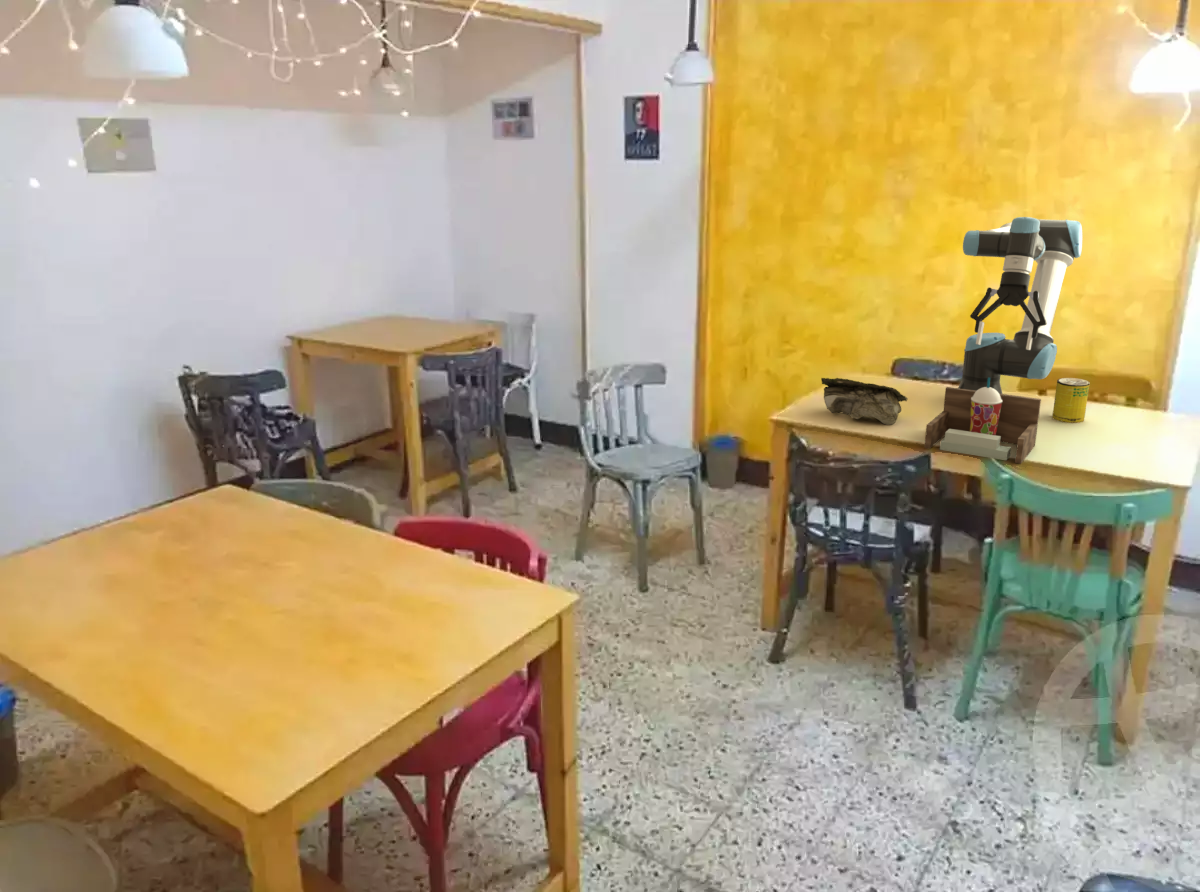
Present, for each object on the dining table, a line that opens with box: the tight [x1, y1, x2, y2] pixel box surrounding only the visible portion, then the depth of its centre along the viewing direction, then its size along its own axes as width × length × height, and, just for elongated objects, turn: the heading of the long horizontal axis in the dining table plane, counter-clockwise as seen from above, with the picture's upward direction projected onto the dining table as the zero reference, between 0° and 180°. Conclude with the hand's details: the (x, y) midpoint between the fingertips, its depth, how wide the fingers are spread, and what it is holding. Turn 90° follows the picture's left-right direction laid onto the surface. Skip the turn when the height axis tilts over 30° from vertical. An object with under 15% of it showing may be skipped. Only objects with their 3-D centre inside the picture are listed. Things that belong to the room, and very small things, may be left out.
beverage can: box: [1051, 377, 1090, 424], centre depth 290 cm, size 9×9×12 cm
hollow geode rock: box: [821, 377, 909, 426], centre depth 296 cm, size 28×13×15 cm
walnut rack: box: [924, 386, 1042, 465], centre depth 266 cm, size 18×26×14 cm
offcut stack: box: [939, 429, 1012, 461], centre depth 263 cm, size 4×18×6 cm, turn 55°
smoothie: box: [970, 378, 1003, 436], centre depth 267 cm, size 8×8×20 cm
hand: (1002, 347), depth 267 cm, fingers open, 13 cm apart
